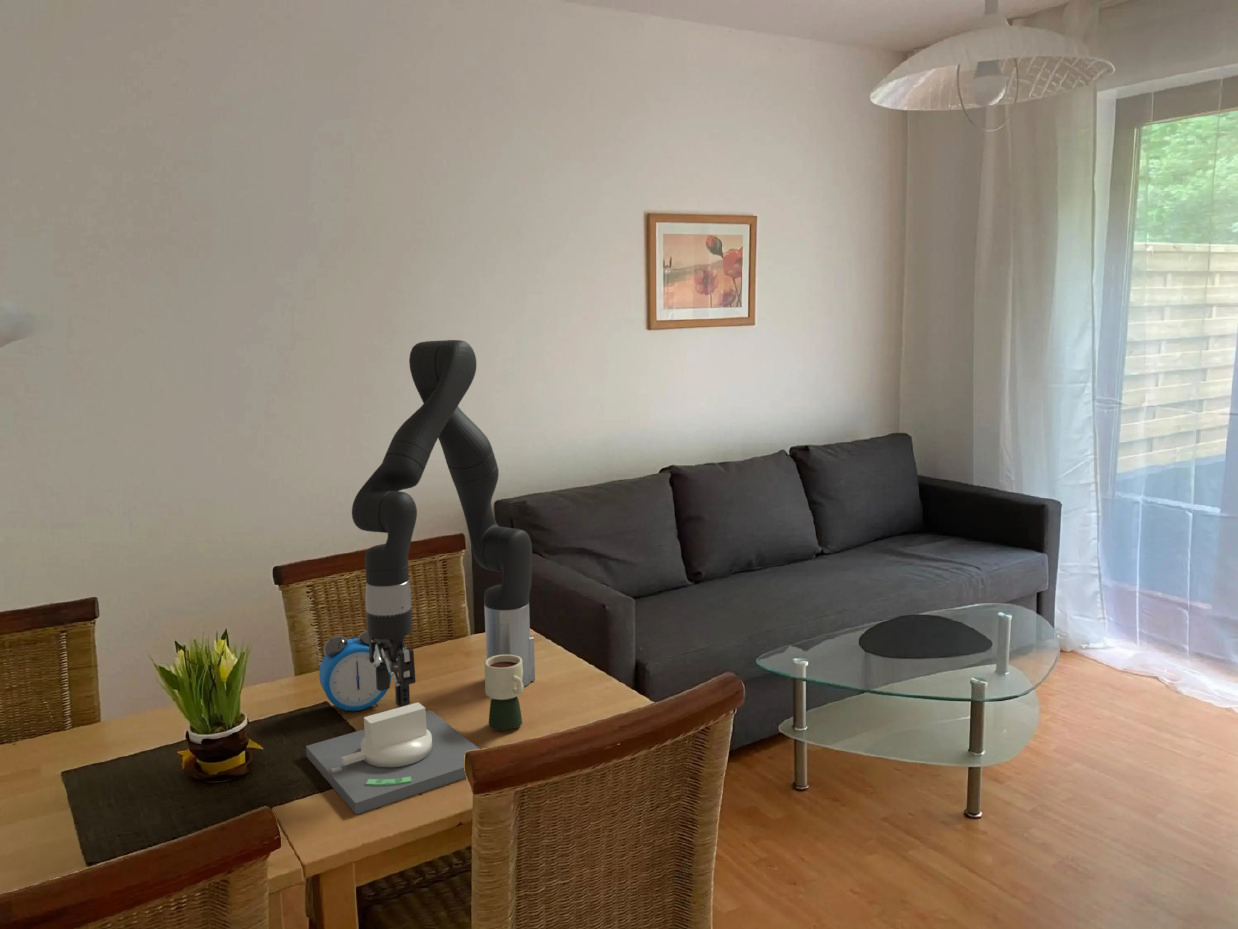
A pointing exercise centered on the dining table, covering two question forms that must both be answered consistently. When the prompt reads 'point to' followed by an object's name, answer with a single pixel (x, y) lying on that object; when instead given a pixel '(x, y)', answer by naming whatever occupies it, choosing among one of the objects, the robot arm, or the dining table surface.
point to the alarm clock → (349, 673)
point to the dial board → (390, 784)
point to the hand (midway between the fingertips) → (392, 697)
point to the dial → (394, 738)
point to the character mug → (504, 690)
